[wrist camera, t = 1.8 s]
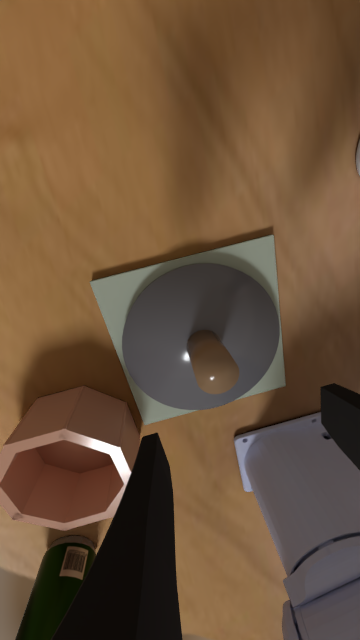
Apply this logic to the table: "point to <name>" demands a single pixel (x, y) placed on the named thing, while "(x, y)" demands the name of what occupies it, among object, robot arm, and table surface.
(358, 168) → the pill bottle
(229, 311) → the lid
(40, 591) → the beer can
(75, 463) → the bowl
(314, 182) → the table surface
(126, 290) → the mat
